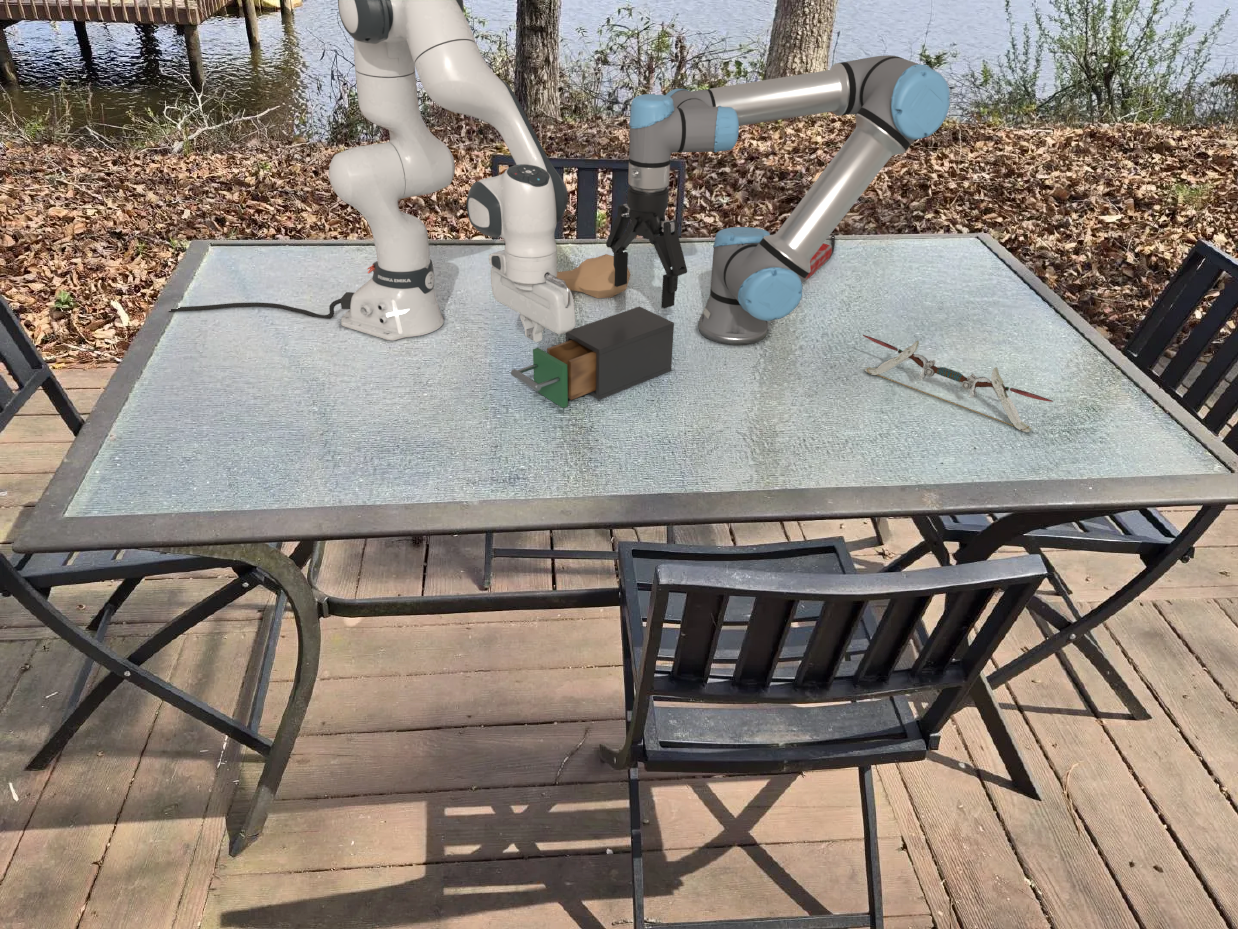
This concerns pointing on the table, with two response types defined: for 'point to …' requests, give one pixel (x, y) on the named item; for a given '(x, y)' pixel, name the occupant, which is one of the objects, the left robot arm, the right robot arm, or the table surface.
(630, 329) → the dark grey box
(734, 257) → the right robot arm
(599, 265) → the squash
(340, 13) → the left robot arm
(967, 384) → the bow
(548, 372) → the drawer
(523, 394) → the table surface
